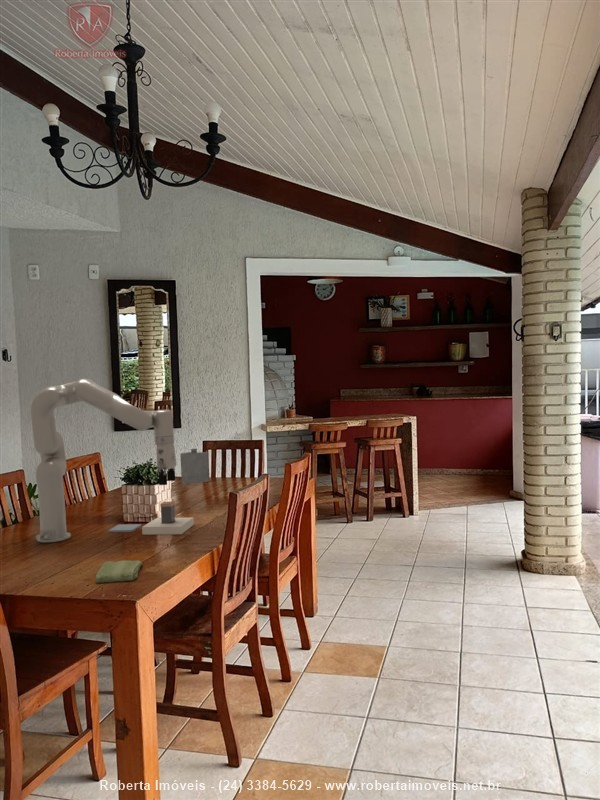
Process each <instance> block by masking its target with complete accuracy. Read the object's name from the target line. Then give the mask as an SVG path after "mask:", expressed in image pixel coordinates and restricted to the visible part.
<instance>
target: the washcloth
mask: <svg viewBox="0 0 600 800" xmlns="http://www.w3.org/2000/svg"><path fill="white" fill-rule="evenodd" d="M142 566H143V561H141V560H118V561H105V562H103V563H102V564H101V567H100V568H99V570H98V571H97V572H96V576H95V582H96V583H97V584H103V583H114V582H132V581H135V580H136V579H137V578H138V575H139V571H140V570H141V567H142Z"/></svg>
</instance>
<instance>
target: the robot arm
mask: <svg viewBox="0 0 600 800" xmlns="http://www.w3.org/2000/svg"><path fill="white" fill-rule="evenodd" d="M80 402H84V403H86V404H88V405H90V406H91V407H93V408H96V409H97V410H99V411H102V412H103V413H105V414H107V415H108V416H111V417H112V418H115V419H117V420H118V421H120V422H122V423H124V424H125V425H128V426H129V427H132V428H134V429H136V430H137V431H147V430H149V429H150V428H151V429H152V428H153V432H154V444H155V445H154V446H156V469H157V475H158V477H157V478H158V485H159V486H167V485H168V482H174V481H176V468H175V467H176V466H177V457H176V450H175V449H176V448H175V435H174V420H173V419H174V418H173V412H172V410H171V409H158V410H143V409H140V408H138V407H136V406H134V405H132V404H130V403H129V402H127V401H126V400H125V399H123V398H122V397H121V396H120V395H119V394H117V393H116V392H113V391H111V390H109V389H108V388H105V387H103V386H102V385H100V384H98V383H96V382H95V381H94V380H92V379H90V378H79V379H77V381H76V380H75V381H71V382H68V383H64V384H60V385H50V386H48V387H46V388H43V389H42V390H41V391H39V392H38V393H37V394H36V395H35V396H34V398H33V399H32V402H31V404H30V418H31V427H32V436H33V445H34V449H35V451H36V452H37V453H38V454H39V455H40V460H41V462H39V463H38V465H37V466H36V469H35V470H36V471H35V479H36V486H37V496H38V497H37V498H38V509H39V511H38V512H39V527H40V530H39V531H40V532H39V534H37V535H35V539H36V542H38V543H44V544H45V543H57V542H62V541H66V540H68V539H71V537H72V534H71V532H67V519H66V518H67V516H66V515H67V514H66V502H65V501H66V499H65V487H64V482H63V481H64V480H63V476H64V475H65V474H66V472H67V456H66V451H65V443H64V442H65V441H64V439H63V436H62V434H61V433H60V432H59V431H57V428H56V427H57V426H56V418H55V415H54V411H55V410H56V409H58V408H60V407H65V406H68V405H71V404H76V403H80Z"/></svg>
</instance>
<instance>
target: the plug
mask: <svg viewBox="0 0 600 800" xmlns="http://www.w3.org/2000/svg"><path fill="white" fill-rule="evenodd" d="M175 502H176V501H175V500H173V501H162V502H161V503H160V506H159V507H160V518H161V520H162V524H172V523H174V522H175V518H176V512H175V511H176V510H175Z"/></svg>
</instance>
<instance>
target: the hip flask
mask: <svg viewBox="0 0 600 800" xmlns="http://www.w3.org/2000/svg"><path fill="white" fill-rule="evenodd" d="M209 459H210V457H209V452H208V451H204V452H203V451H202V452H201V451H200V452H198V448H190V451H188V452H181V453H180V473H181V474H180V475H181V477H180V478H181V484H182V485H187V484H186V483H201V482H207V481H211V480H210V479H211V478H210V460H209ZM201 484H202V483H201Z"/></svg>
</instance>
